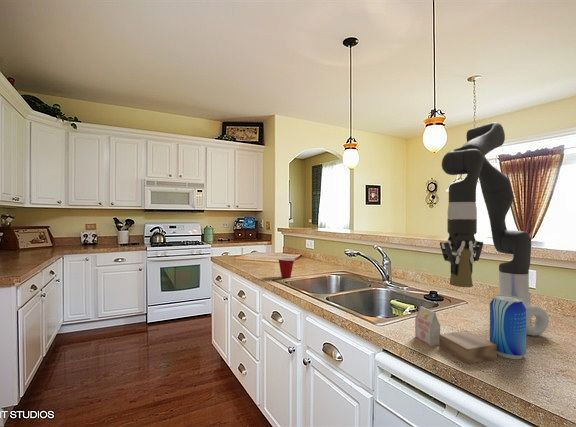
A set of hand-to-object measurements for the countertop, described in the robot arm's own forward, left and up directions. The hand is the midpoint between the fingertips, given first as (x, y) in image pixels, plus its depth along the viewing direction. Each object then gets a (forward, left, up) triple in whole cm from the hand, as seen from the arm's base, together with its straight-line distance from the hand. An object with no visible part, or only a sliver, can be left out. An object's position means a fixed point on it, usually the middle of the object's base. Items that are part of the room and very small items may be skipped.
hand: (461, 275), depth 88 cm
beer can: (-10, +6, -22) cm, 25 cm away
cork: (0, 0, -3) cm, 3 cm away
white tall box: (+6, -8, -22) cm, 24 cm away
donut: (-30, -2, -22) cm, 38 cm away
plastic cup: (+25, -109, -22) cm, 114 cm away
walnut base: (+1, +2, -22) cm, 22 cm away
